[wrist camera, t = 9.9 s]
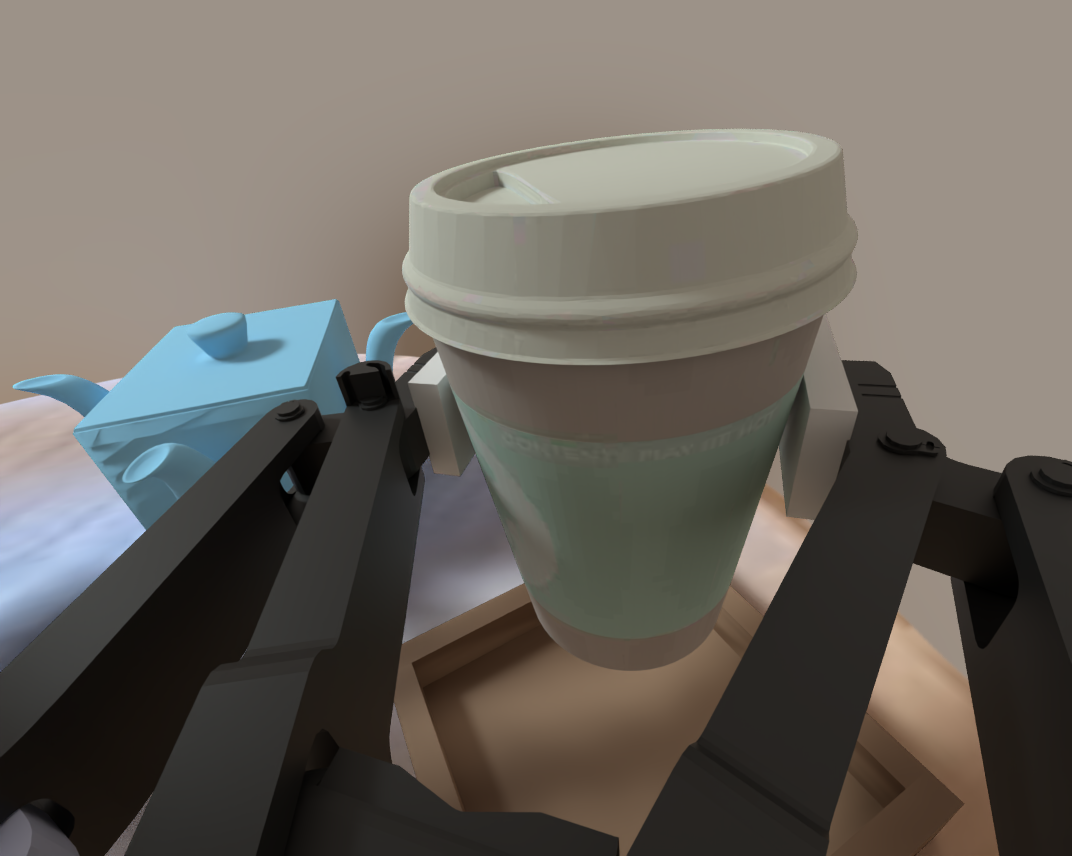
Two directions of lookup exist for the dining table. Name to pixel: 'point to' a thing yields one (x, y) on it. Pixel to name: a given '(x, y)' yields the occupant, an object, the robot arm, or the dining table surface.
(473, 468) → the dining table surface
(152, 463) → the teakettle
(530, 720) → the wooden tray
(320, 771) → the robot arm
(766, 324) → the coffee cup
